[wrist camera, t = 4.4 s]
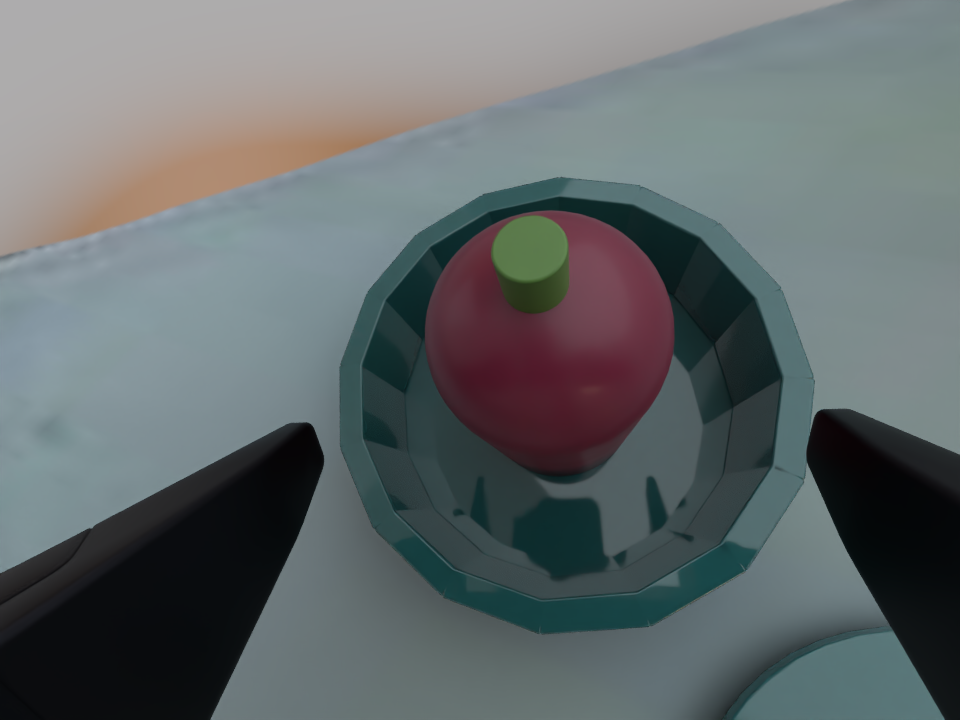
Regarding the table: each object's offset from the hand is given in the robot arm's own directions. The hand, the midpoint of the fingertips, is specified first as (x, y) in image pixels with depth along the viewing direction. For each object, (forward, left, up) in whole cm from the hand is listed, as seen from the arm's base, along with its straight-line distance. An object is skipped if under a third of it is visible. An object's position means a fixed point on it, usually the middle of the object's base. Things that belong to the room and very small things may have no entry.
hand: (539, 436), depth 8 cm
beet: (+2, +2, -9) cm, 9 cm away
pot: (+2, +2, -10) cm, 10 cm away
